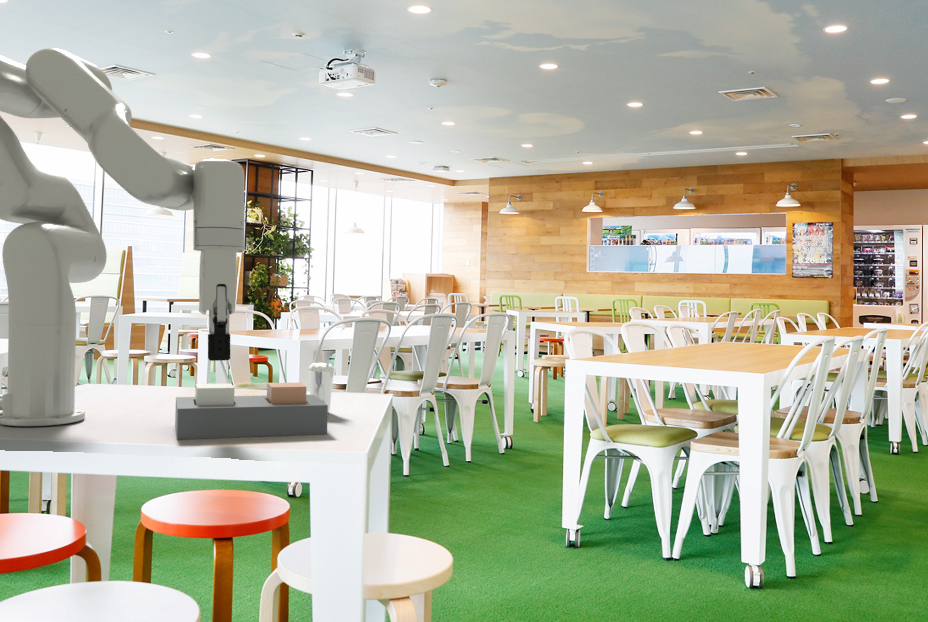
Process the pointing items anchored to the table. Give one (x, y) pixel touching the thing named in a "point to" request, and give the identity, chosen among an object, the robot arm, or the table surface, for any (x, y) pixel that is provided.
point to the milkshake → (321, 381)
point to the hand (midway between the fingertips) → (219, 359)
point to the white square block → (214, 394)
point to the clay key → (286, 393)
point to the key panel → (249, 418)
